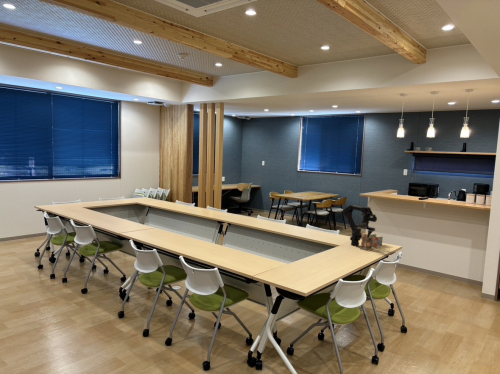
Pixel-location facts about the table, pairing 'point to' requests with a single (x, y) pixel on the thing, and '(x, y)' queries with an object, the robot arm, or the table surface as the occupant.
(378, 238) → the stack of blocks
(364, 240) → the open wooden box
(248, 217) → the table surface
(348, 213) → the robot arm
